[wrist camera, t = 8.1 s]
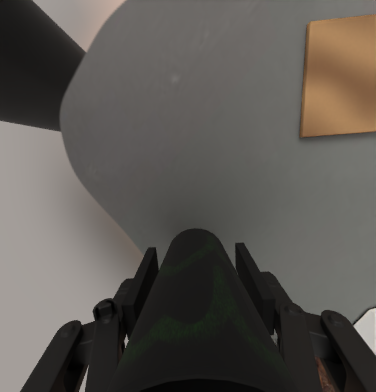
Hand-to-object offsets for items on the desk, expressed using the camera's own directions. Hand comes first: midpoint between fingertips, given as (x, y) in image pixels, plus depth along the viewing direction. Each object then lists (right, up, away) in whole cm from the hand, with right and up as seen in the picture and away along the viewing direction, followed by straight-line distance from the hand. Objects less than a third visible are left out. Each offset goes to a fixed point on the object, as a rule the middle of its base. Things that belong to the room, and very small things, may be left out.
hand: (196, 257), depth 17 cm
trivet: (+16, +17, 0) cm, 23 cm away
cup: (0, 0, +1) cm, 1 cm away
